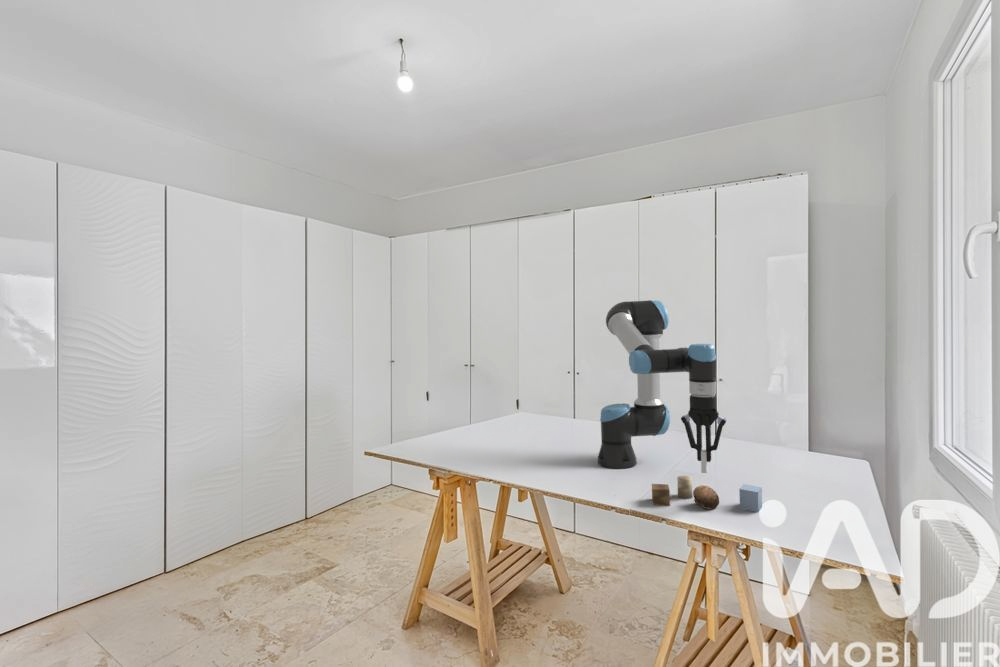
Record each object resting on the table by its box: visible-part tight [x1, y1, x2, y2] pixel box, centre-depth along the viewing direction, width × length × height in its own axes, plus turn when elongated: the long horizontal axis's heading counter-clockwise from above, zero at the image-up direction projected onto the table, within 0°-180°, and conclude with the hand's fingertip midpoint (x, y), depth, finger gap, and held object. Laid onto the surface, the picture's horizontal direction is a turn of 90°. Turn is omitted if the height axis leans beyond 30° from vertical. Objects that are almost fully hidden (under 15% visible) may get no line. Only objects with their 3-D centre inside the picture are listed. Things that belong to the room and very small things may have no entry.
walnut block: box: [651, 483, 671, 507], centre depth 152 cm, size 5×5×5 cm
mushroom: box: [692, 484, 720, 510], centre depth 148 cm, size 8×8×6 cm
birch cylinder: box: [676, 475, 694, 500], centre depth 156 cm, size 4×4×6 cm
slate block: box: [738, 483, 763, 513], centre depth 145 cm, size 5×5×6 cm
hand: (704, 471), depth 148 cm, fingers closed
